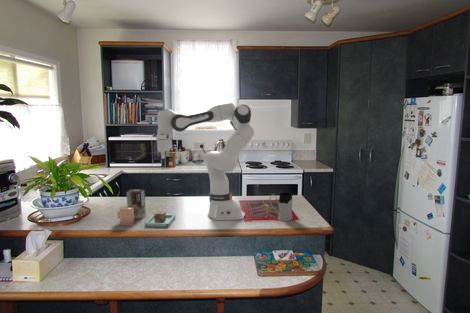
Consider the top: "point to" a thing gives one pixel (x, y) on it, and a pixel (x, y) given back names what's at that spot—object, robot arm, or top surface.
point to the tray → (166, 223)
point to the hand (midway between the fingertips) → (165, 157)
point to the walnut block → (160, 216)
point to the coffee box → (137, 202)
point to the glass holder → (284, 206)
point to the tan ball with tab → (126, 215)
